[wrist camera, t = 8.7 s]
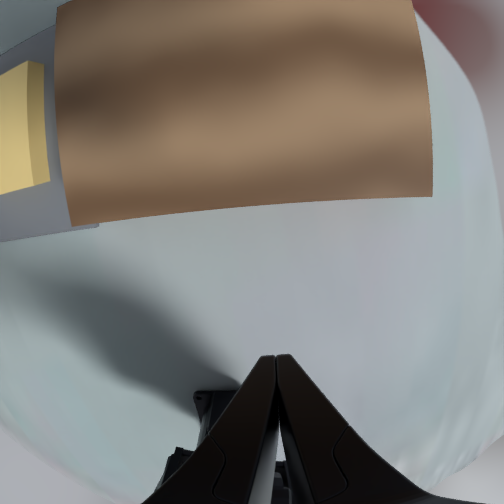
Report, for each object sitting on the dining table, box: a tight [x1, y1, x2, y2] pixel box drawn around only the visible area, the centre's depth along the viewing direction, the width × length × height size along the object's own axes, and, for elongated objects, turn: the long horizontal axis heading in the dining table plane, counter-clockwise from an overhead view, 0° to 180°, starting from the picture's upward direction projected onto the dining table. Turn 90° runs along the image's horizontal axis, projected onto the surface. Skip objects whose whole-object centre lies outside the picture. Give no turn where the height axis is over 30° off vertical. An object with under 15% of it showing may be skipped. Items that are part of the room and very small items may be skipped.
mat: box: [0, 24, 99, 242], centre depth 17 cm, size 16×13×1 cm
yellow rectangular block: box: [0, 61, 50, 195], centre depth 16 cm, size 9×6×2 cm, turn 4°
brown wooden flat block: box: [54, 0, 433, 227], centre depth 15 cm, size 14×20×4 cm
